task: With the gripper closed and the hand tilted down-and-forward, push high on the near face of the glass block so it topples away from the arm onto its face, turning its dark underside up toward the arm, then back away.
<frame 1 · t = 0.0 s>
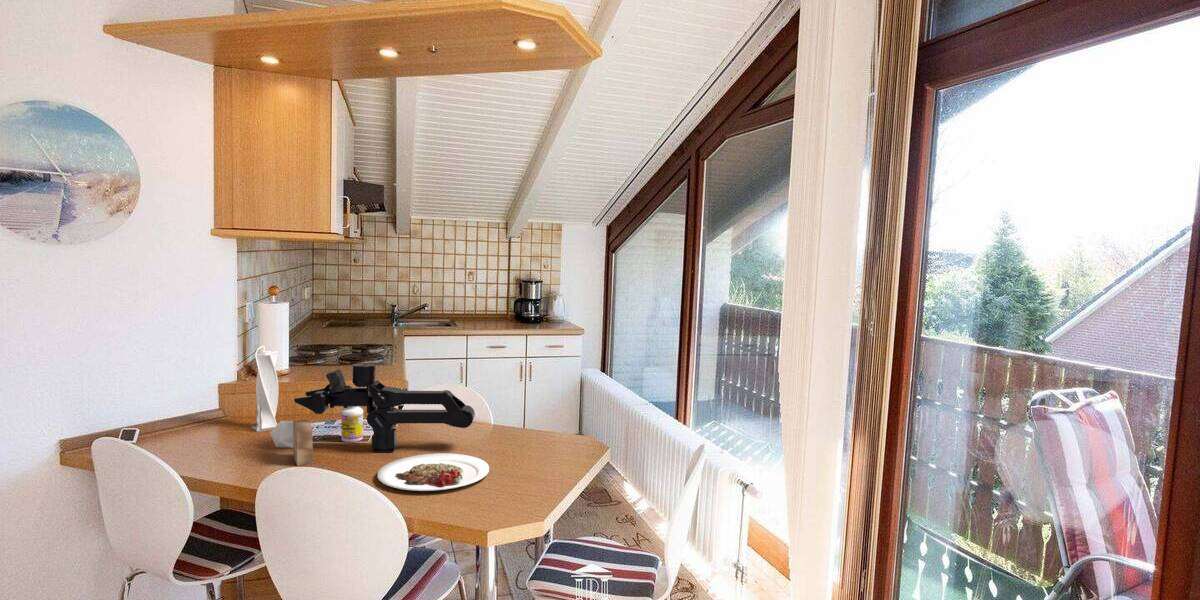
hand: (300, 396, 199), 17 cm above the table, tool horizontal, fingers open, 9 cm apart
die: (286, 446, 203), on the table
supplement bottle: (352, 440, 212), on the table
plated food: (434, 477, 180), on the table
skyscraper: (266, 428, 224), on the table
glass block: (302, 460, 190), on the table
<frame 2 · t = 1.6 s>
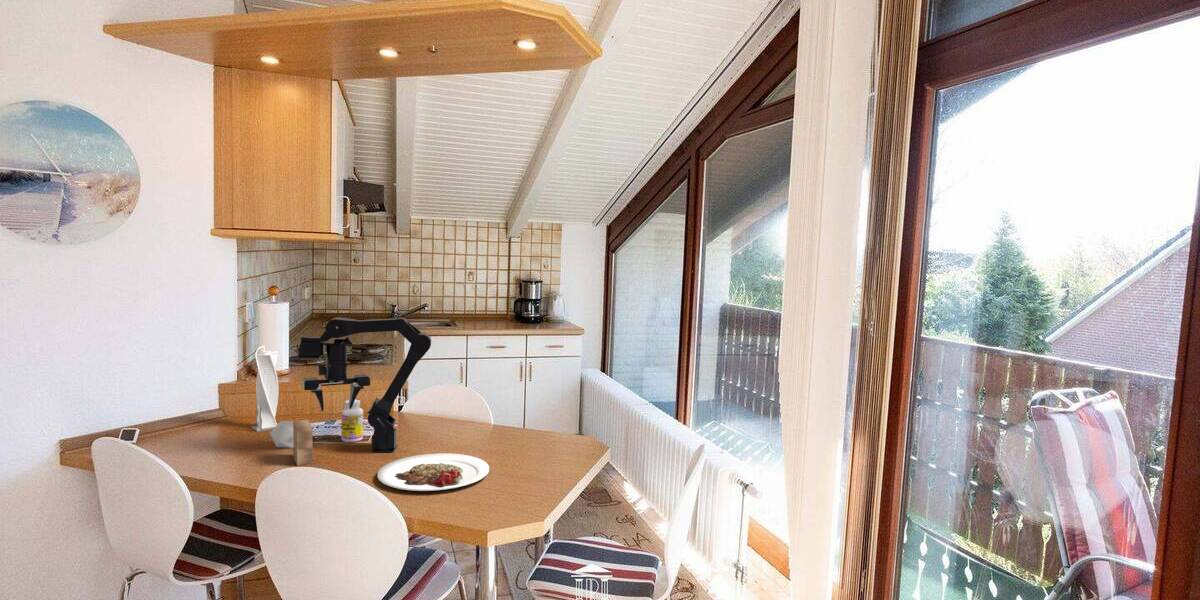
hand: (336, 409, 198), 13 cm above the table, tool pointing down, fingers open, 8 cm apart
nothing on the table moved.
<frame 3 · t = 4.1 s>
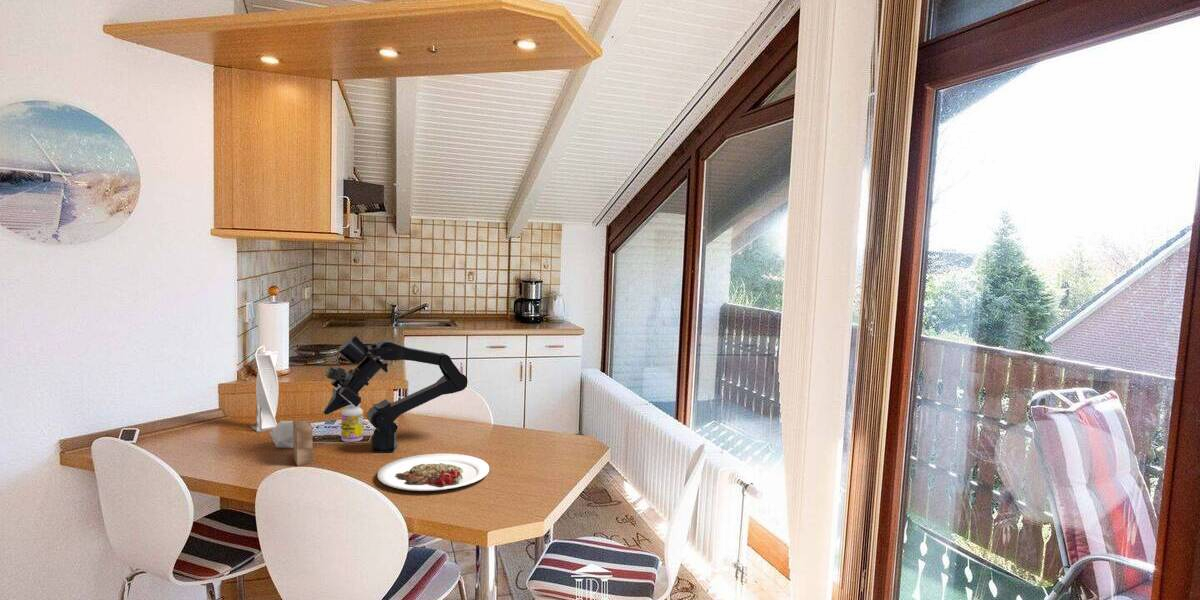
hand: (324, 413, 192), 13 cm above the table, tool tilted 45°, fingers closed
nothing on the table moved.
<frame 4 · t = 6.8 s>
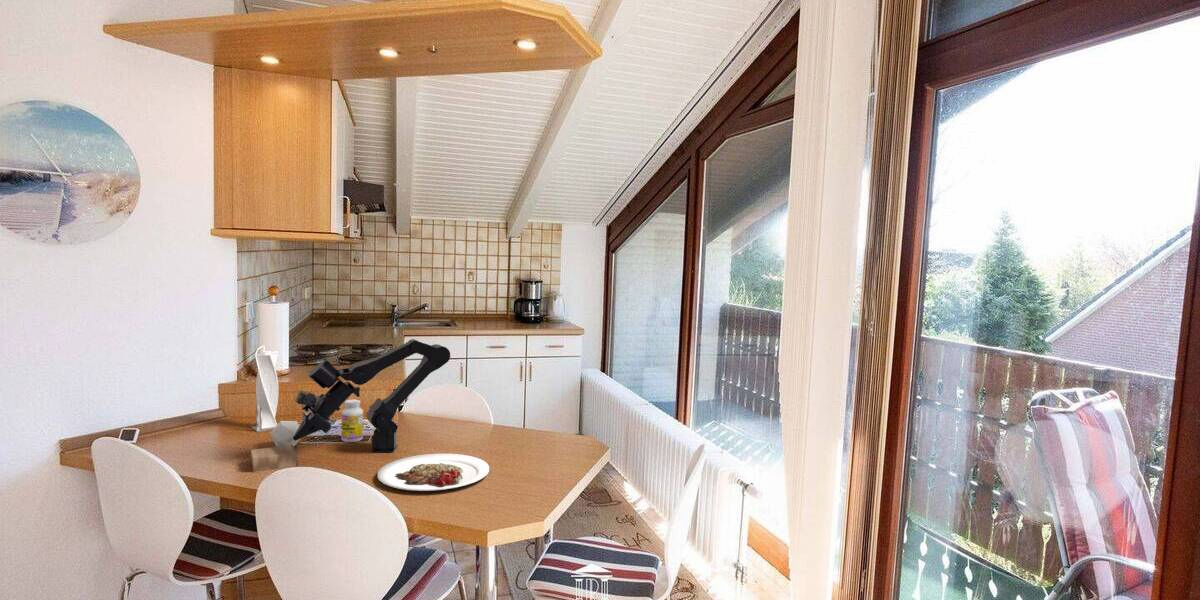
hand: (293, 439, 188), 7 cm above the table, tool tilted 45°, fingers closed
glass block: (295, 455, 189), point 2 cm above the table, tilted 90°
everything else where it was.
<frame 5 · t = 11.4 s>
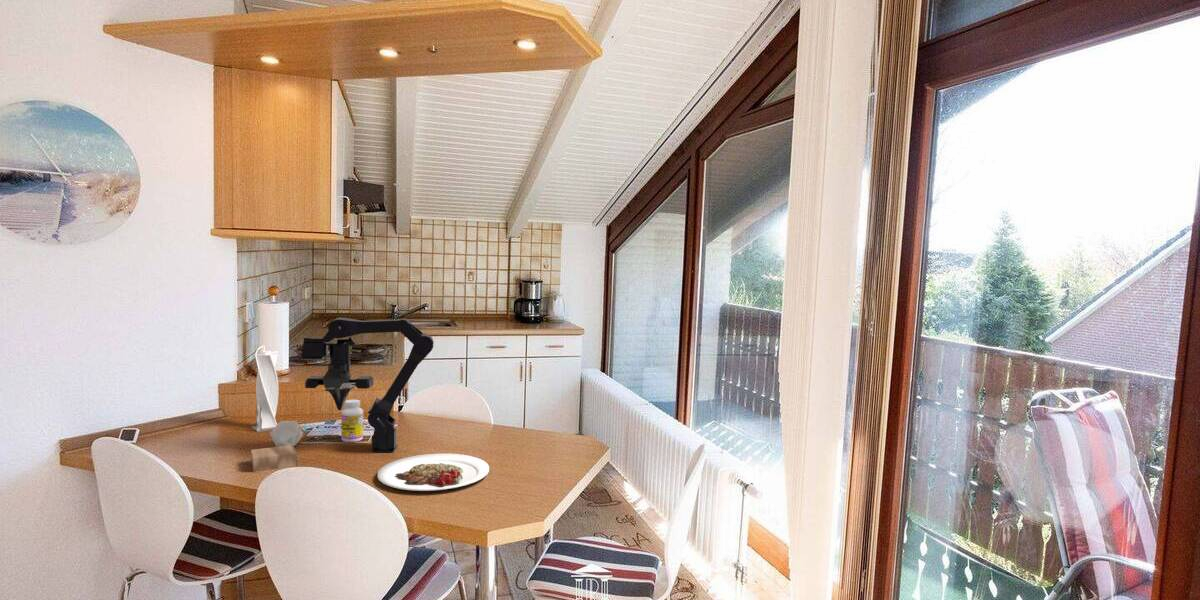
hand: (339, 410, 198), 13 cm above the table, tool pointing down, fingers closed
nothing on the table moved.
at the end: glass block tilted 90°; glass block moved 2.8 cm from its start; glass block inside the target area (7.3 cm from its centre), point 1.8 cm above the table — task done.
